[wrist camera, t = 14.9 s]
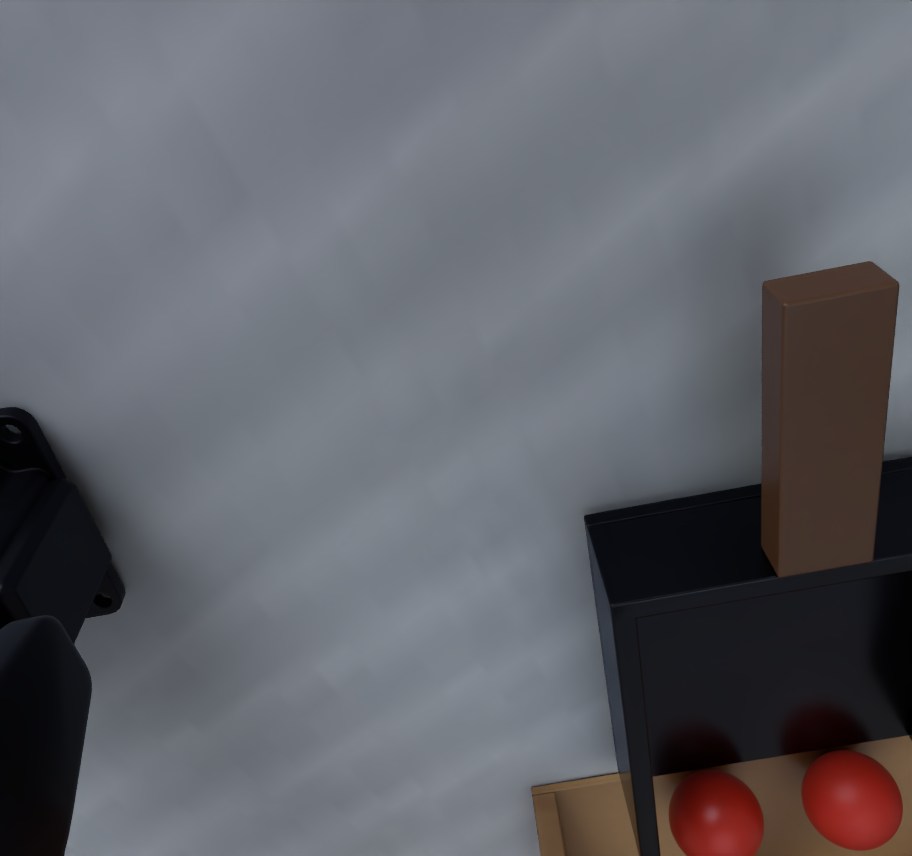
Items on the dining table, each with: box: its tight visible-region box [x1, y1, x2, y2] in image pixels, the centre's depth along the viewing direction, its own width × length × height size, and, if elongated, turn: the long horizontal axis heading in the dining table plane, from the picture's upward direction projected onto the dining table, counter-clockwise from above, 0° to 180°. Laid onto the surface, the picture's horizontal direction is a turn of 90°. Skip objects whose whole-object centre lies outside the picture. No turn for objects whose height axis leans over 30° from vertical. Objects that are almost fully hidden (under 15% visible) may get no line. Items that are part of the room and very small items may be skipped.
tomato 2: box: [801, 750, 903, 851], centre depth 28 cm, size 3×3×3 cm
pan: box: [584, 261, 912, 856], centre depth 22 cm, size 18×10×4 cm, turn 11°
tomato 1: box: [668, 770, 764, 856], centre depth 28 cm, size 3×3×3 cm
